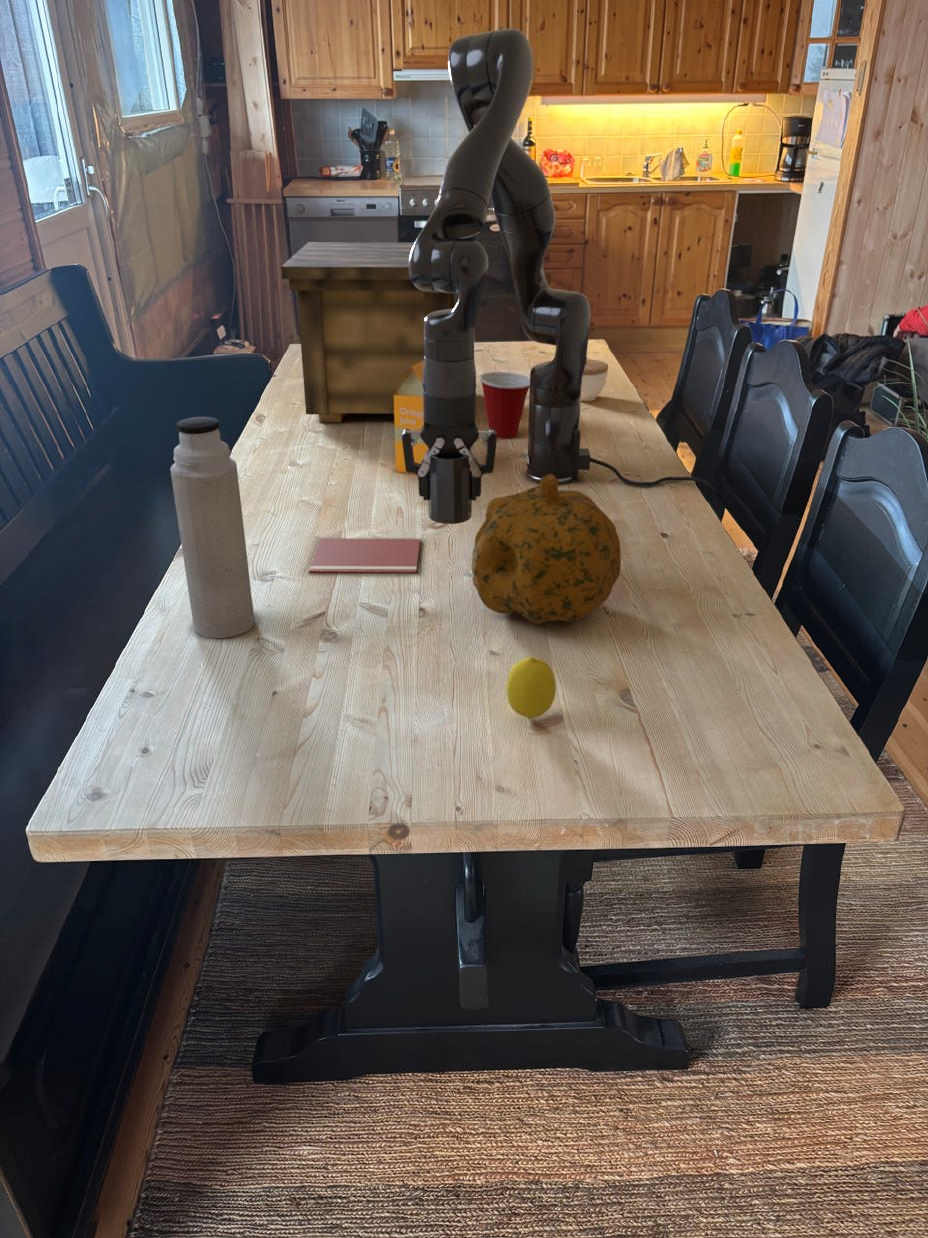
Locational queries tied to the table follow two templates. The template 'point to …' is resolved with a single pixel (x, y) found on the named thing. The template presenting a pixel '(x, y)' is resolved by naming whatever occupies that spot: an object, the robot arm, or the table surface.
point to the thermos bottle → (211, 530)
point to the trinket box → (593, 379)
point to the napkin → (366, 556)
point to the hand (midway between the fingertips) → (449, 498)
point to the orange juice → (409, 414)
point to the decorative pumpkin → (545, 554)
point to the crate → (358, 324)
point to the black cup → (449, 489)
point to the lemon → (531, 687)
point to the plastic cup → (504, 401)
